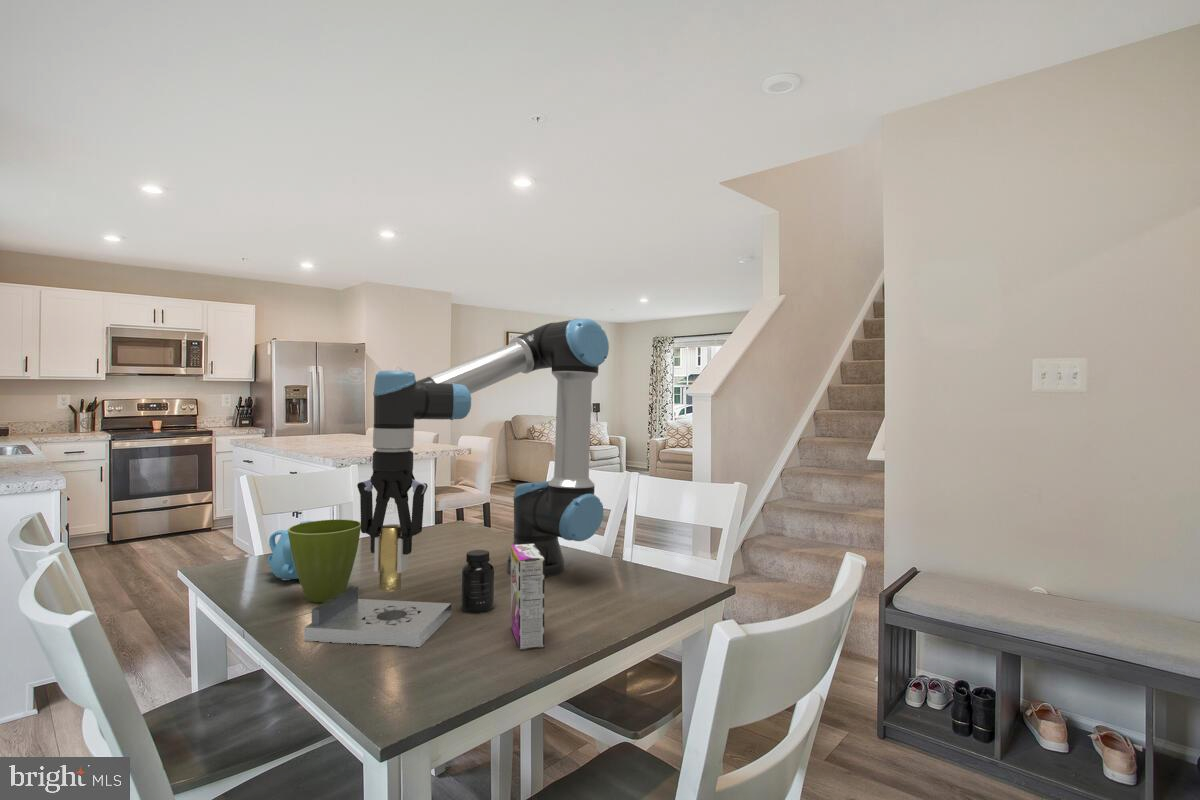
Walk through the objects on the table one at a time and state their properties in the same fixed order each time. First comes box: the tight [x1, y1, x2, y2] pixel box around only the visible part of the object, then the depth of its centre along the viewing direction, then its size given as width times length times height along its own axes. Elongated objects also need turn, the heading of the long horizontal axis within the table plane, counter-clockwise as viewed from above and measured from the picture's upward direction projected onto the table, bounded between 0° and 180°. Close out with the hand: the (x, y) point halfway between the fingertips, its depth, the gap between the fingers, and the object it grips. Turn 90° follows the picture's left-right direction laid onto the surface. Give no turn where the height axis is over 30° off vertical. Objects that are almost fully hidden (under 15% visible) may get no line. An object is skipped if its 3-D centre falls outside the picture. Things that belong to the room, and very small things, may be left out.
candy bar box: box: [510, 544, 545, 651], centre depth 111 cm, size 11×5×16 cm, turn 17°
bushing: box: [378, 523, 402, 592], centre depth 115 cm, size 4×4×12 cm
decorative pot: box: [267, 520, 313, 580], centre depth 149 cm, size 16×16×14 cm
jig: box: [303, 585, 452, 648], centre depth 115 cm, size 22×16×6 cm
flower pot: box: [287, 519, 361, 603], centre depth 132 cm, size 15×15×16 cm
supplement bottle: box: [461, 549, 495, 614], centre depth 126 cm, size 7×7×12 cm
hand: (390, 570), depth 115 cm, fingers closed on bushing, 4 cm apart
